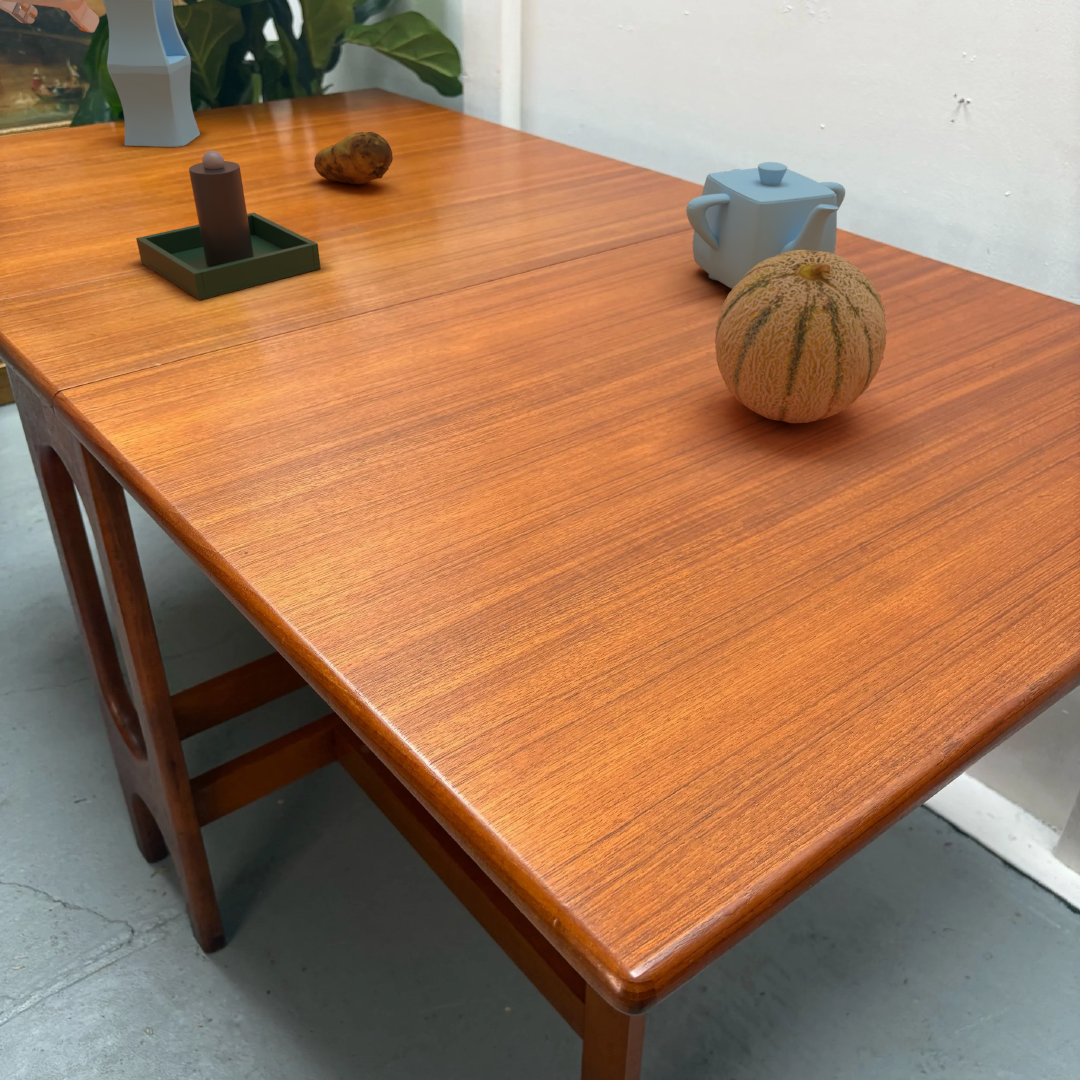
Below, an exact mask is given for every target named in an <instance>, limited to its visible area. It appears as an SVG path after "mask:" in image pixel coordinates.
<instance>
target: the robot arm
mask: <svg viewBox="0 0 1080 1080" xmlns="http://www.w3.org/2000/svg"><path fill="white" fill-rule="evenodd" d="M35 6H42V7H51V8H58V9H60V10H61V11H64V12H65V11H66V12H67V13H68V15H69V16H70V19H69V22H70V23H71V24H72V25H74V26H75V27H77V29H78V30H79V31H81V32H86V33H92V34H93V33H95V32H96V30H97V27H98V26H99V23H100V17H99V16H98V14H97V13H95V12H94V11H93V10H92V9H91V8H90V7H89V5H88V4H87V2H86V0H0V10H1V11H4V12H5V13H8V14H9V15H10V16H12V17H13V18H14V19H15V20H17V22H18V23H21V24H29V25H32V24H33V23H34V22H35V20H36V19H35V18H37V17H38V13H39V12H38V9H37V8H36V7H35Z"/></svg>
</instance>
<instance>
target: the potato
mask: <svg viewBox="0 0 1080 1080" xmlns="http://www.w3.org/2000/svg"><path fill="white" fill-rule="evenodd" d="M393 159H394V158H393V150H392V148H391V145H390V144H389V142H388V140H387V139H386V138H384V137H383V136H382V135H380V134H378V133H376V132H374V131H368V132H366V131H361V132H355V133H351V134H349V135H347V136H345V137H344V138H343V139H341V140H340V141H338V142H337V143H335V144H331V145H330V146H327V147H325V148H322V149H321V150H319V151H318V152H317V153H316V155H315V156H314V163H313V164H314V165H313V166H314V168H315V170H316V172H317V174H319V176H321V178H323V179H325V180H327V181H332V182H333V181H334V182H340V183H342V184H343V183H344V184H348V185H365V184H368V183H370V182H372V181H375V180H378V179H382V178H383V177H384V175H385V174H386V173H387V171H389V168H390V166H391V164H392V163H393V161H394V160H393Z"/></svg>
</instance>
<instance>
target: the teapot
mask: <svg viewBox="0 0 1080 1080" xmlns="http://www.w3.org/2000/svg"><path fill="white" fill-rule="evenodd" d="M845 196H846V188H845V186H844V185H843V184H841V183H839V182H835V181H821V182H820V181H819V182H818V181H816V180H815V179H812V178H810V177H808V176H805V175H803V174H802V173H798V172H796V171H794V170H791V169H788V166H787V165H785V164H784V163H781V162H775V161H767V162H762V163H761V162H760V163H759V164H757V167H754V168H743V169H740V168H735V169H734V168H733V169H731V170H727V171H717V172H710V173H708V174H707V175H706V178H705V182H704V184H703V189H702V192H701V195H700V196H696V197H694V198H692V199H691V200H690V201H689V202H688V203H687V205H686V209H685V210H686V211H685V212H686V216H687V220H688V222H689V224H690V226H691V228H692V229H693V235H692V236H693V237H692V255H693V259H694V262H695V264H697V265H698V266H699V267H700V268H701V269H702V270H703V271H705V273H707V274H708V278H709V279H711V280H713V281H717V282H719V283H721V284H722V285H725V286H726V287H728V288H729V289H731V290H732V289H733V288H734V287H735V286H736V285H737V284H738V282H739V281H740V280H741V279H742V278H743V277H744V276H745V275H746V273H747V272H748V271H750V270H751V269H752V268H753V267H754V266H755V265H757V264H758V263H760V262H762V261H765V260H766V259H768V258H771V257H774V256H776V255H779V254H781V253H784V252H788V251H793V250H810V251H820V252H829V253H832V254H835V253H836V245H837V230H838V229H837V226H838V225H837V224H838V211H839V209H840V207H841V205H843V202H844V200H845ZM835 255H836V254H835Z"/></svg>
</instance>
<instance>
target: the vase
mask: <svg viewBox="0 0 1080 1080" xmlns="http://www.w3.org/2000/svg"><path fill="white" fill-rule="evenodd" d="M102 3H103V6H104V9H105V12H106V18H107V23H108V36H109V37H108V51H107V60H106V68H107V71H108V74H109V76H110V79H111V80H112V81H111V82H112V83H113V85H114V87H115V90H116V93H117V95H118V98H119V101H120V104H121V107H122V111H123V119H124V146H125V147H155V148H156V147H157V148H159V147H160V148H179V147H184V146H186V145H188V144H190V143H191V142H193V141H194V140H195V139H197V138H198V137H199V136H201V133H200V129H199V126H198V123H197V121H196V118H195V114H194V111H193V110H194V109H193V105H192V101H191V72H192V71H191V69H192V61H191V56H190V55H191V54H190V53H189V51H188V49H187V47H186V45H185V43H184V41H183V40H182V36H181V35H180V31H179V28H178V26H177V23H176V19H175V14H174V6H173V5H174V4H173V0H102Z"/></svg>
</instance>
